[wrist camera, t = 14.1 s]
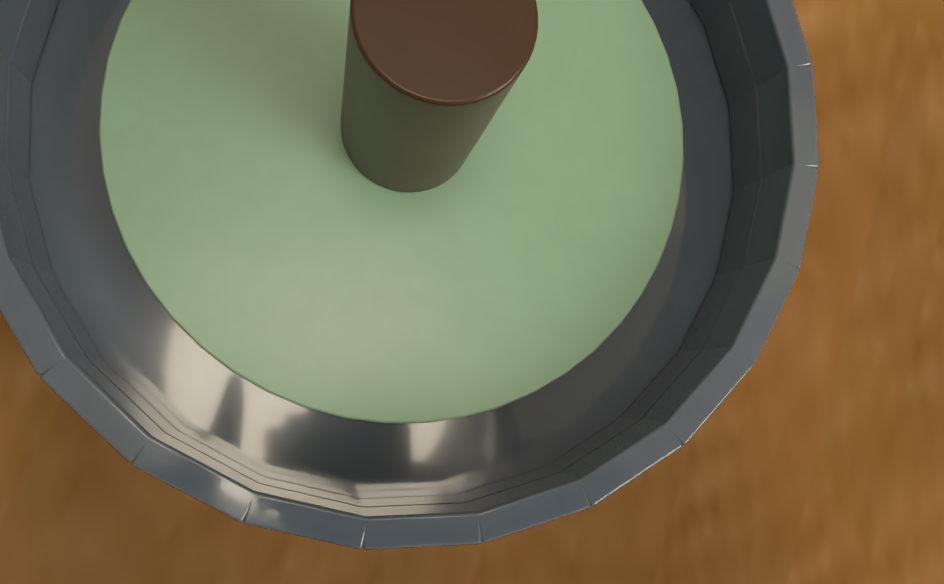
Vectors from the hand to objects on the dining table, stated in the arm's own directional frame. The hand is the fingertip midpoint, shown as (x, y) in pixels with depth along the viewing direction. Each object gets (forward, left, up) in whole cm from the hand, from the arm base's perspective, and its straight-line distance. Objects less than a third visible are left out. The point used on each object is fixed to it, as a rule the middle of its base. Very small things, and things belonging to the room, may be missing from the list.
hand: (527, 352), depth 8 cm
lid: (+5, 0, -11) cm, 13 cm away
